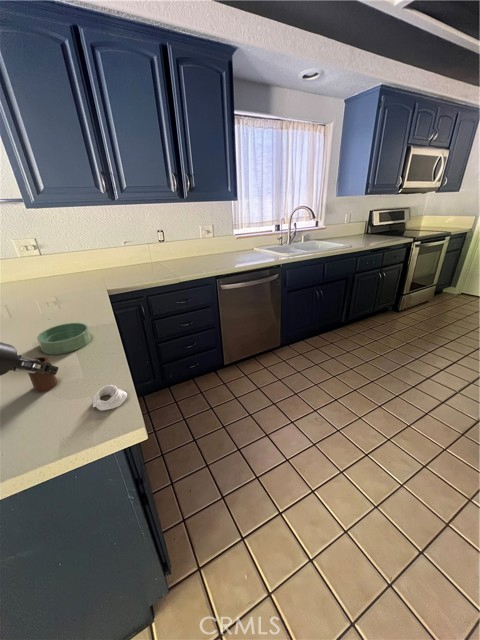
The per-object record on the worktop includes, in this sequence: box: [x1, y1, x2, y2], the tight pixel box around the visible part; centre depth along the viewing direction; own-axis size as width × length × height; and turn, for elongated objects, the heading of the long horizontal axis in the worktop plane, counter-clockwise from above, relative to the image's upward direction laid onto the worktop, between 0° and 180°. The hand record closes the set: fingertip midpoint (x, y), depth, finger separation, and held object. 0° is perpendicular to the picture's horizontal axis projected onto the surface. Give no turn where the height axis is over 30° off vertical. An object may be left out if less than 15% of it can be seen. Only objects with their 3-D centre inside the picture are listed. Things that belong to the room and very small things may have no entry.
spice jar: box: [27, 355, 58, 393], centre depth 72 cm, size 5×5×8 cm
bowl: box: [36, 322, 92, 355], centre depth 94 cm, size 15×15×5 cm
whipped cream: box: [92, 384, 128, 411], centre depth 67 cm, size 8×7×5 cm
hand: (47, 369), depth 73 cm, fingers closed on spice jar, 5 cm apart
